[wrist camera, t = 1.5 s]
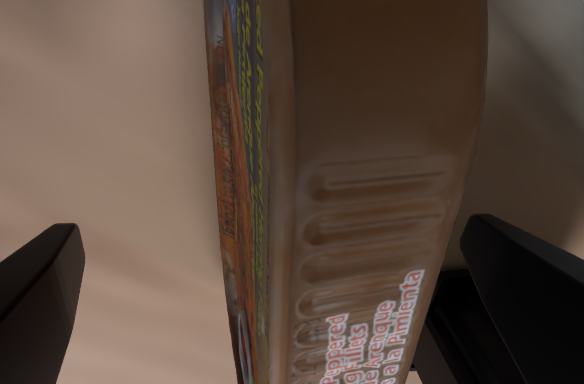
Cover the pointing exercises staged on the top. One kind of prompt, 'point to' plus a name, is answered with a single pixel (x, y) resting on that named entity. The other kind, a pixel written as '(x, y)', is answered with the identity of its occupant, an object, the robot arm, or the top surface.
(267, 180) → the tin
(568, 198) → the top surface
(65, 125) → the top surface
